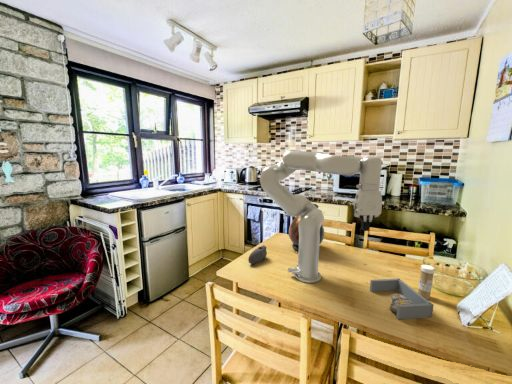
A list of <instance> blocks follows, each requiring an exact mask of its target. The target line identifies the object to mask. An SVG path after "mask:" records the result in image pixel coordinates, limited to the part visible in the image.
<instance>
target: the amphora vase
mask: <svg viewBox="0 0 512 384" xmlns="http://www.w3.org/2000/svg"><path fill="white" fill-rule="evenodd" d="M311 203H312V204H313V205H315V206H316V207H317V208H318V209H319V207H320V206H319V205H318V204H316V203H313V202H311ZM291 218H292V219H291V223H290V225H289V227H288V237H289V239H290V241H291V243H292V244H291V246H292V249H293V250H295V251H296V252H298V253H299V221H300V219H301V217H300V216H299V215H298V216H296V217H292V216H291ZM324 239H325V228H324V224H322V225H321V227H320V244H319V245H321V244H322V243H323V240H324Z"/></svg>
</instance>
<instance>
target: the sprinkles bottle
mask: <svg viewBox="0 0 512 384" xmlns="http://www.w3.org/2000/svg"><path fill="white" fill-rule="evenodd" d="M435 271H436V269H435V267H434V266H432V265H429V264H421V265H420V277H419V281H418V282H419V283H418V290H417V293H419V294H420V295H421V296H423V297H424V298H425V299H427V300H430V299H431V292H432V288H433V287H432V286H433V282H434V279H433V278H434V274H435Z"/></svg>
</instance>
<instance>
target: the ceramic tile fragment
mask: <svg viewBox="0 0 512 384" xmlns="http://www.w3.org/2000/svg"><path fill="white" fill-rule="evenodd" d="M390 298H391V302H390V306H389V310H390V311H391V312H394V313H395V314H397V306H398V305H404V304H414V303H412V302H411V301H410V300H408V299H407V298H406V297H404V296H403V295H402V294H401V293H399V292H398V293H390Z"/></svg>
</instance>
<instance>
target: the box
mask: <svg viewBox="0 0 512 384" xmlns="http://www.w3.org/2000/svg"><path fill="white" fill-rule="evenodd" d="M391 291H392V292H395V291H397V292H398V294H399V293H400V294H401V295H403V296H404V297H406V298H407V299H408V300H410V301H411V302H412V303H414V304H404V305H398V306H397V313H395V314H396V316H395V318H396V319H397V320H408V319H409V320H411V319H412V320H413V319H423V318H425V319H426V318H432V317H433V313H434V312H433V311H434V306H435V305H434V303H432V302H430V301H429V299H425V298H424V297H423V296H421V295H420V294H419V293H418V291H416V290H415V289H414V288H412V287H411V286H410V285H408V284H407V283H405V281H404V280H402V279H400V278H382V279H381V278H380V279H370V284H369V292H371V293H375V292H376V293H377V292H378V293H379V292H391Z"/></svg>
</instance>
